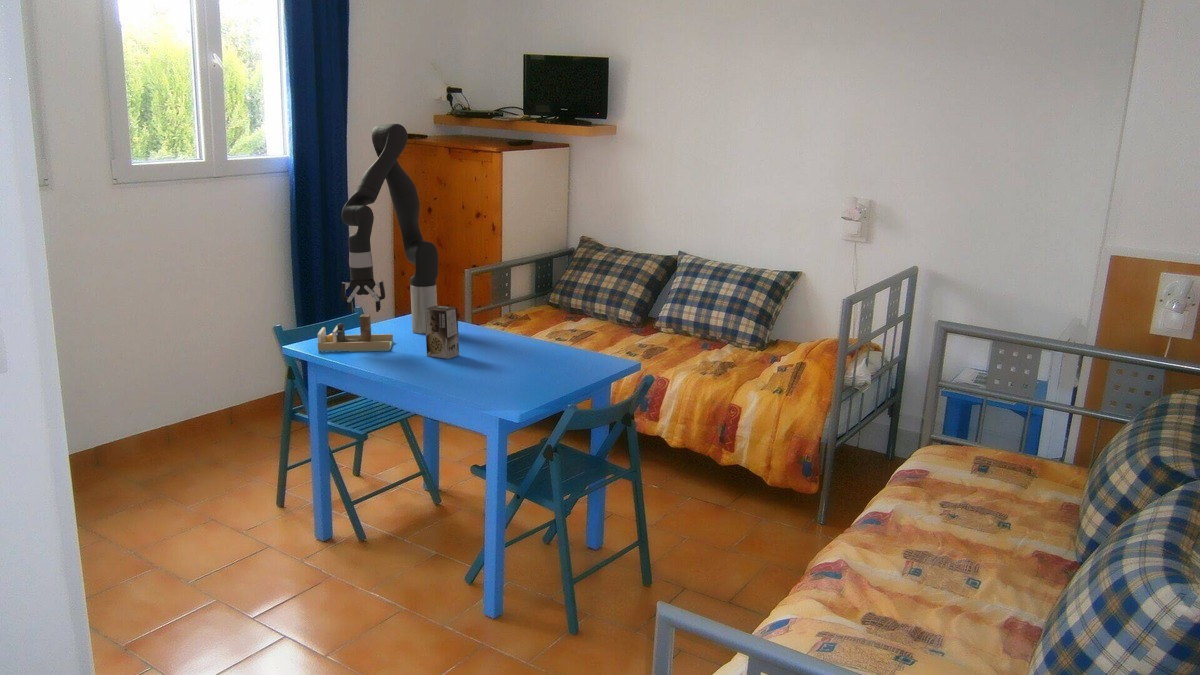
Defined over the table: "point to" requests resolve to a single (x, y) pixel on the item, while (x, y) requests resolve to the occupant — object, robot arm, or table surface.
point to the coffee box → (442, 331)
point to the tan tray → (360, 344)
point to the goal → (322, 335)
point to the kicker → (364, 329)
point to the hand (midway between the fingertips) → (364, 312)
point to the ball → (331, 338)
